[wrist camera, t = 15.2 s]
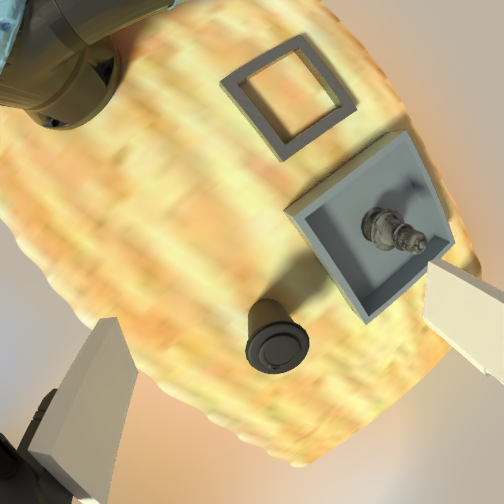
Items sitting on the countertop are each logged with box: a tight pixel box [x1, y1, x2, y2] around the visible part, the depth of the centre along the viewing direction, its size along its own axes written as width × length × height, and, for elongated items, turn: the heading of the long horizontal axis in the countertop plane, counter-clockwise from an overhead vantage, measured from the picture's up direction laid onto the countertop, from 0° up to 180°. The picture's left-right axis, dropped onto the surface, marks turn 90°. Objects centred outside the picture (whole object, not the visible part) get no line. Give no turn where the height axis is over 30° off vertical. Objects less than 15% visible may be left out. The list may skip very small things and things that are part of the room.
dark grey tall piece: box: [361, 207, 427, 254], centre depth 35 cm, size 6×6×12 cm
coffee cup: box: [245, 299, 309, 374], centre depth 38 cm, size 8×8×10 cm
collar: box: [219, 35, 357, 162], centre depth 34 cm, size 13×13×2 cm
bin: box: [284, 130, 455, 325], centre depth 39 cm, size 20×20×5 cm
